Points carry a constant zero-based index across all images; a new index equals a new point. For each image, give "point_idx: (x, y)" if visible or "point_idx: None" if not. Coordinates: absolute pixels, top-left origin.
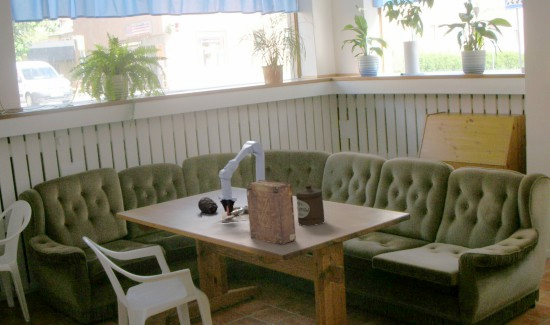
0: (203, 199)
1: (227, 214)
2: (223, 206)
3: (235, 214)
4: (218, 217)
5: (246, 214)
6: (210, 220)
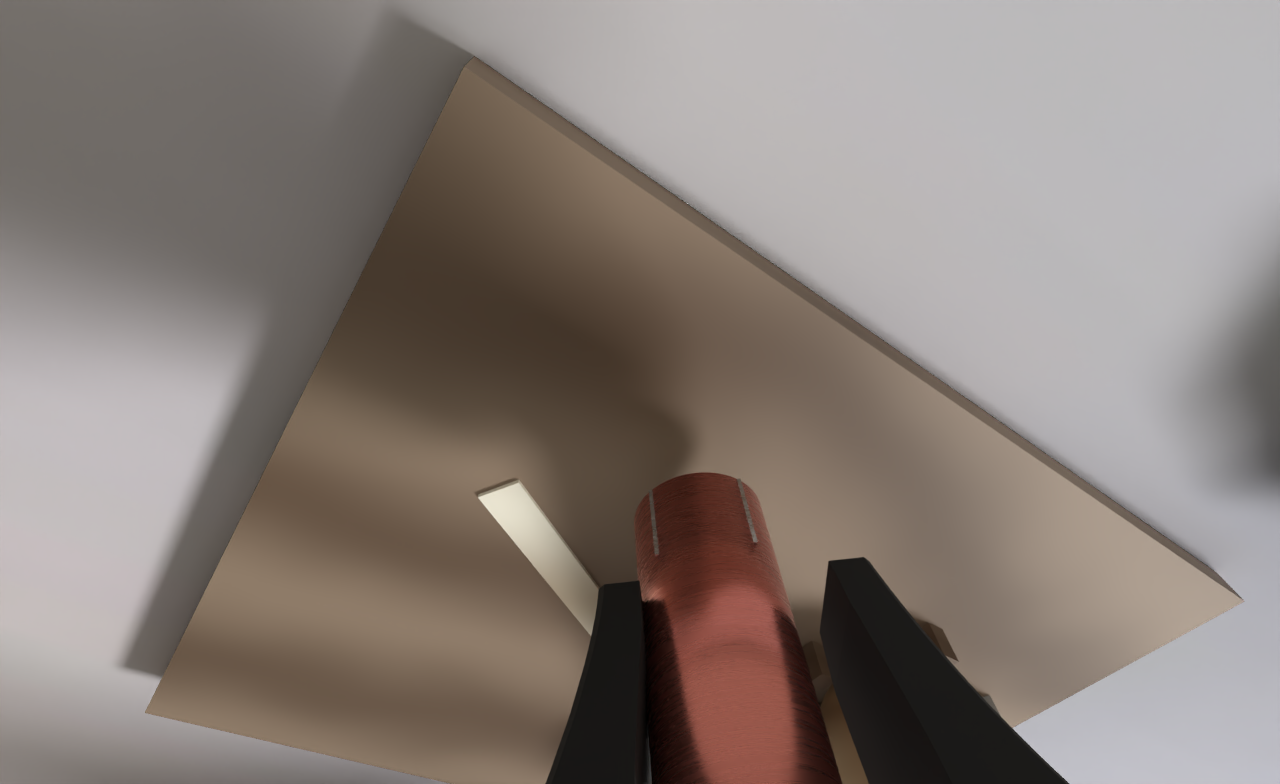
0: None
1: (709, 502)
2: (985, 743)
3: None
4: (1120, 390)
5: None
6: (1191, 23)
